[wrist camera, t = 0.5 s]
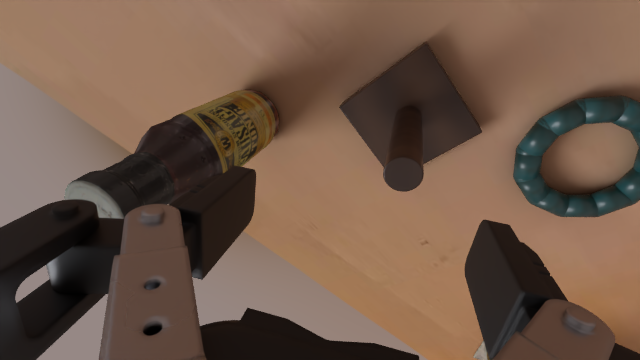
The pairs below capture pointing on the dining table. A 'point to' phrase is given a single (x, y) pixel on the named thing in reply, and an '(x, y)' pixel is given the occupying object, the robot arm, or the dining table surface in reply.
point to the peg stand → (410, 117)
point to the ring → (561, 121)
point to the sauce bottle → (182, 154)
